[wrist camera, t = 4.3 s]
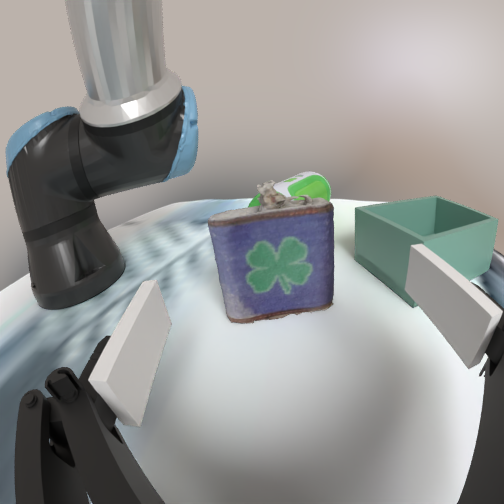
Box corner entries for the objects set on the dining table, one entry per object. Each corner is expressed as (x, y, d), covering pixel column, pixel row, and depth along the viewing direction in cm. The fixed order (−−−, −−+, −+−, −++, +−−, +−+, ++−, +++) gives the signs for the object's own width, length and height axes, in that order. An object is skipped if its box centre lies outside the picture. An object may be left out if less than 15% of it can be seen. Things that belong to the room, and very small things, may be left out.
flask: (227, 327, 22) (200, 196, 17) (228, 307, 24) (204, 188, 20) (337, 309, 22) (337, 178, 18) (327, 291, 24) (323, 173, 20)
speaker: (298, 208, 51) (294, 169, 48) (334, 211, 47) (332, 169, 44) (247, 244, 38) (239, 190, 35) (295, 249, 34) (290, 190, 31)
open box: (354, 259, 29) (354, 207, 27) (432, 238, 31) (436, 195, 28) (413, 307, 20) (424, 241, 17) (488, 270, 21) (498, 219, 19)
